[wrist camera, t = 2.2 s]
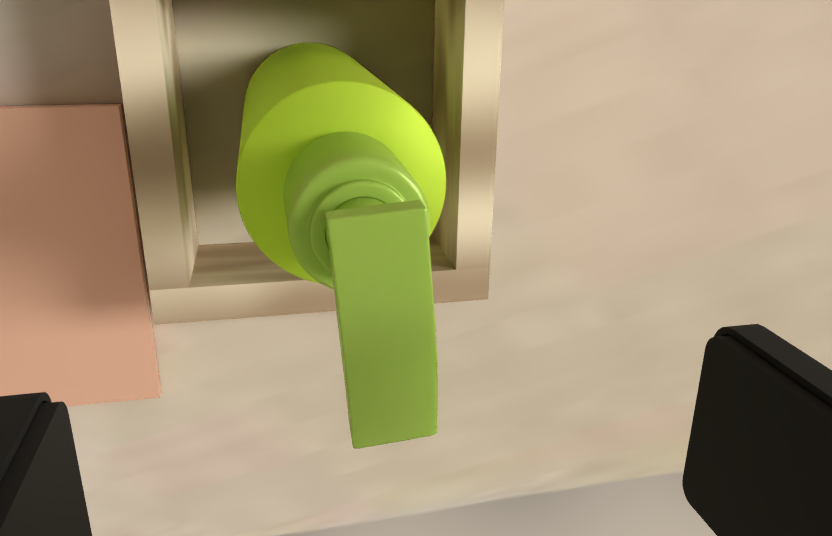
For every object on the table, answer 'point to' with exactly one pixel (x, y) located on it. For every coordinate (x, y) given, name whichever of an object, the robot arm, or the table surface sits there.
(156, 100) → the open box
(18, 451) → the robot arm
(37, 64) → the table surface
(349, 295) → the soap dispenser
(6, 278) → the plate
